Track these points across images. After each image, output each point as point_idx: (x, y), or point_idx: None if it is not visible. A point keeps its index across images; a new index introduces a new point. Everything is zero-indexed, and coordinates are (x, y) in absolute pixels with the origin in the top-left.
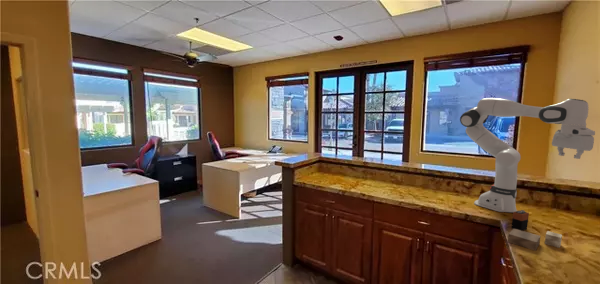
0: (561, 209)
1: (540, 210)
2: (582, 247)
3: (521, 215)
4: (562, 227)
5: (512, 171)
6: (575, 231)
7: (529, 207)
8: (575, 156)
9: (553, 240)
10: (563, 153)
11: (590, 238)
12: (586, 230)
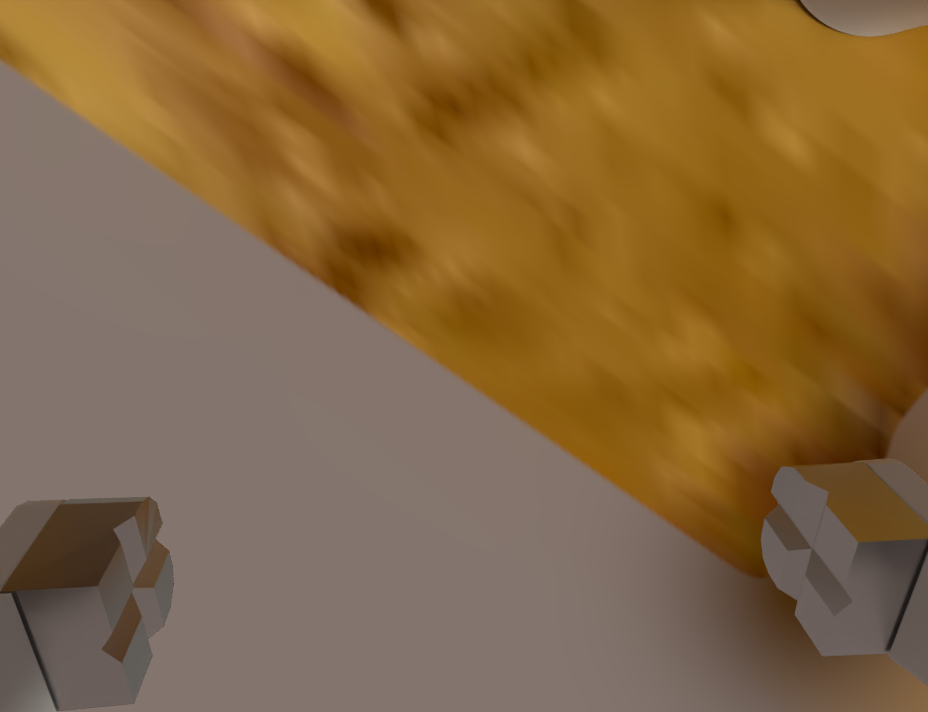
0: (853, 453)
1: (835, 276)
2: (54, 25)
3: None
4: (464, 179)
5: None
6: (399, 222)
7: (910, 231)
8: (33, 537)
9: None
10: (813, 593)
11: (282, 232)
12: (441, 320)
